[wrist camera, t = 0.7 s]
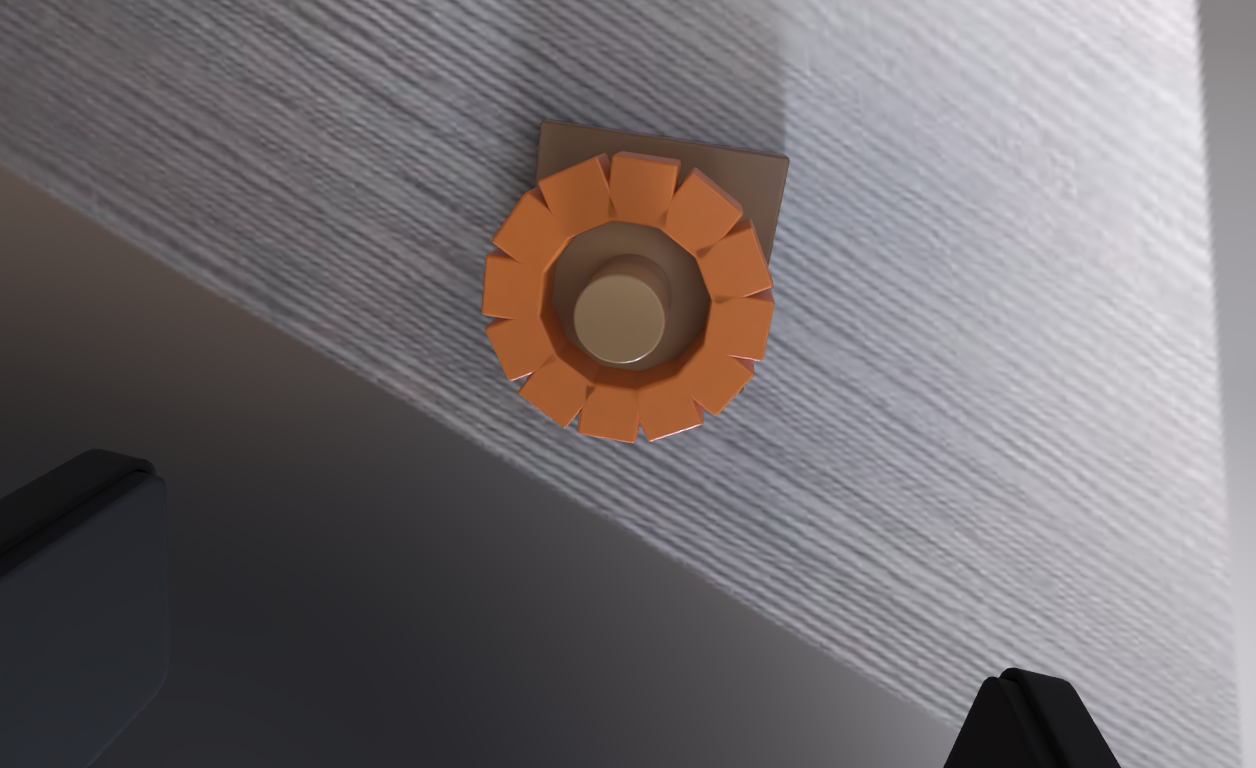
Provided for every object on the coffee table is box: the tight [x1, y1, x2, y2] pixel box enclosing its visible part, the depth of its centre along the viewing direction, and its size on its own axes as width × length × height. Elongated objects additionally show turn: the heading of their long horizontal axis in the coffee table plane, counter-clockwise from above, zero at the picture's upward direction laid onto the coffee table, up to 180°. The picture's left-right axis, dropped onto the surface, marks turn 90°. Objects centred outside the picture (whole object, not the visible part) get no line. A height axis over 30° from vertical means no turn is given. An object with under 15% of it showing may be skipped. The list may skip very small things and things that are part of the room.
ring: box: [482, 151, 775, 443], centre depth 19 cm, size 7×7×1 cm
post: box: [534, 119, 790, 393], centre depth 21 cm, size 7×7×8 cm
